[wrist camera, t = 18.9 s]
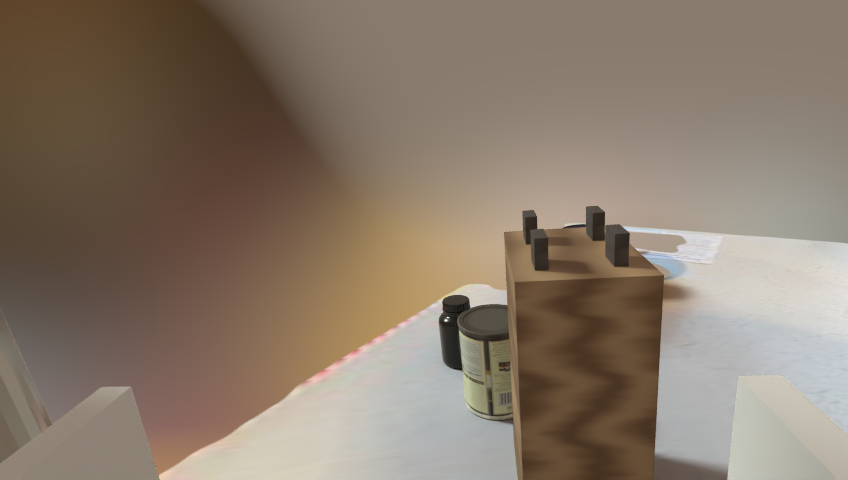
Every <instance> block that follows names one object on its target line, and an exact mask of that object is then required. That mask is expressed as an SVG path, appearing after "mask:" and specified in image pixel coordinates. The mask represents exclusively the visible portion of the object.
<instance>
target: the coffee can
mask: <svg viewBox="0 0 848 480" xmlns="http://www.w3.org/2000/svg"><path fill="white" fill-rule="evenodd" d="M457 323H458V327H459V336H460V347H461V358H462V369H463V381H464V392H465V404H466V406H467V408H468V409H469V410H470V411H471V412H472V413H474V414H475V415H477V416H479V417H482V418H485V419H491V420H505V419H510V418H513V408H512V387H511V366H510V345H509V323H508V306H507V305H499V304H489V305H481V306H476V307H473V308H470V309H468V310H466V311H464V312H463V313H461V314H460V315H459V317H458V319H457Z"/></svg>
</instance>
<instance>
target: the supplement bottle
mask: <svg viewBox="0 0 848 480" xmlns="http://www.w3.org/2000/svg"><path fill="white" fill-rule="evenodd" d="M442 304H443V313H442V314H441V316H440V318H439V329H440V338H441V348H442V356H443V361H444V363H445V364H446V365H447V366H449V367H451V368H456V369H462V358H461V347H460V336H459V327H458V323H457V319H458V317H459V315H460V314H461V313H463V312H464V311H466V310H468V309H470V303H469V298H468V297H466V296H463V295H452V296H448V297H446V298H444V299H443V301H442Z"/></svg>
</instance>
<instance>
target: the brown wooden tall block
mask: <svg viewBox="0 0 848 480" xmlns="http://www.w3.org/2000/svg"><path fill="white" fill-rule="evenodd" d="M629 235H630V233H629V232H628V231H626V230H625V229H624V228H623V227H622V226H621V225H606V226H605V212H604V211H603V210H602V209H600V208H599V207H598V206H590V207H586V227H580V228H564V229H547V230H544V229H537V216H536V214H535V212H534V210H530V211H523V231H514V232H504V239H505V260H506V281H507V302H508V323H509V345H510V366H511V387H512V408H513V429H514V447H515V456H516V465H517V475H518V480H653V472H654V453H655V434H656V415H657V396H658V377H659V358H660V339H661V320H662V301H663V282H664V275H663V274H662V273H661V272H660V271H658V269H657V268H655V267H654V266H653V265H652V264H651V263H650V262H649V261H648V260H647V259H646V258H645V257H643V256H642V255H641V254H640V253H639V252H638V251H637V250H636V249H635V248H634V247H632V245H630V244H629Z"/></svg>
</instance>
